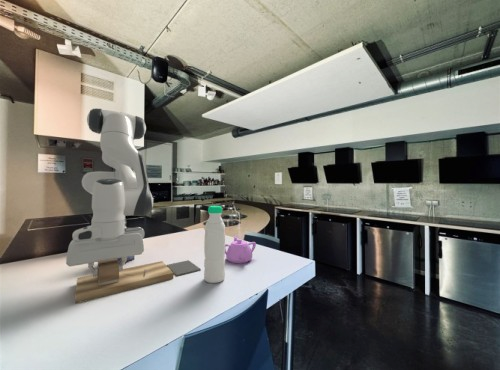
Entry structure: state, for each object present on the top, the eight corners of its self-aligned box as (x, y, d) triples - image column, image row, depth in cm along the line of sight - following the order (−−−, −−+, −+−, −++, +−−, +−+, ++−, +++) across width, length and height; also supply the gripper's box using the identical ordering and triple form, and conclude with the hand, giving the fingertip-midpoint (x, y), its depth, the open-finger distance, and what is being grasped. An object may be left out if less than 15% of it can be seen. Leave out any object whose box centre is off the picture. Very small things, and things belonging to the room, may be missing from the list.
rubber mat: (166, 266, 84) (166, 264, 84) (188, 261, 89) (188, 260, 89) (176, 276, 74) (176, 274, 74) (200, 270, 80) (200, 269, 80)
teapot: (234, 253, 101) (234, 234, 101) (260, 258, 93) (260, 238, 94) (218, 260, 90) (218, 240, 91) (245, 267, 83) (246, 244, 83)
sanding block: (97, 275, 69) (97, 260, 69) (115, 272, 72) (115, 257, 72) (99, 286, 62) (99, 269, 62) (118, 281, 65) (119, 265, 65)
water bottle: (199, 279, 72) (200, 206, 72) (216, 273, 77) (216, 204, 77) (212, 286, 67) (213, 207, 67) (229, 279, 72) (229, 206, 73)
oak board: (77, 284, 68) (77, 278, 68) (161, 266, 84) (162, 261, 84) (75, 303, 57) (75, 295, 57) (173, 278, 73) (173, 272, 73)
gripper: (142, 224, 76) (141, 263, 76) (67, 231, 63) (66, 278, 63) (146, 227, 71) (146, 268, 71) (66, 235, 58) (65, 286, 58)
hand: (107, 273), depth 67 cm, fingers closed on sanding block, 5 cm apart
